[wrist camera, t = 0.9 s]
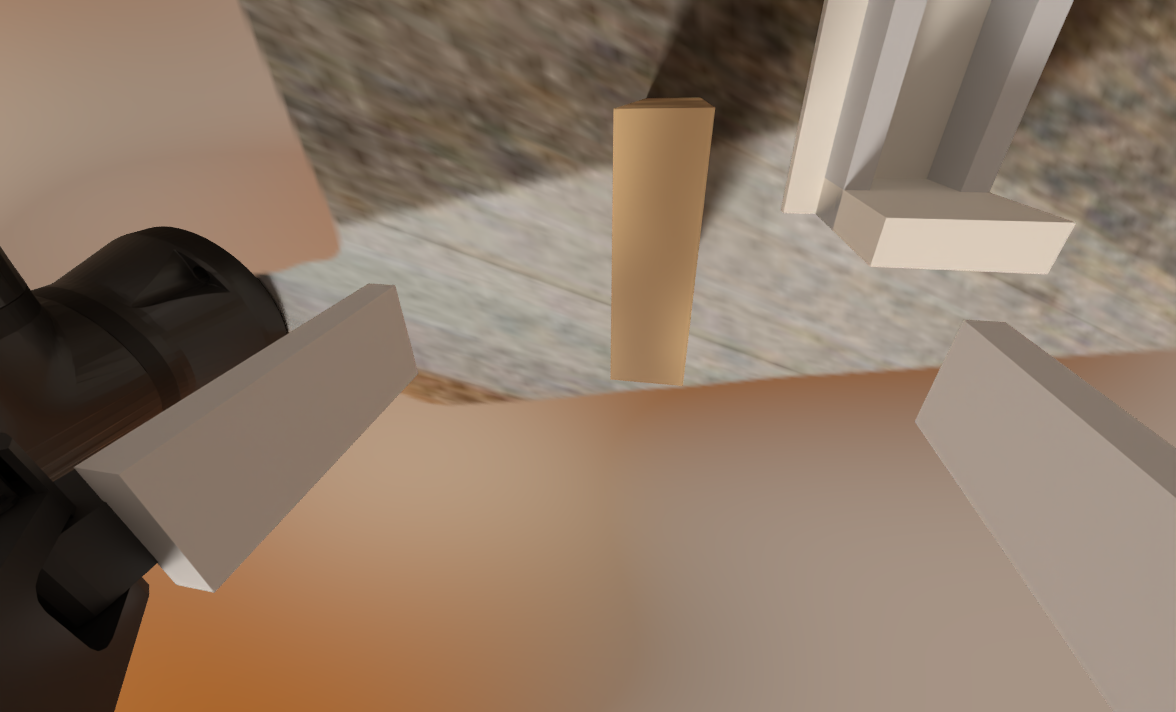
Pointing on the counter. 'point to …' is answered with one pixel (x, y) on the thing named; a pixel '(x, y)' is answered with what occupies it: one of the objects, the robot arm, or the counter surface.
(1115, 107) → the counter surface
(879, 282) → the counter surface
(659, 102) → the door panel
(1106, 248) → the counter surface
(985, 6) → the door track
